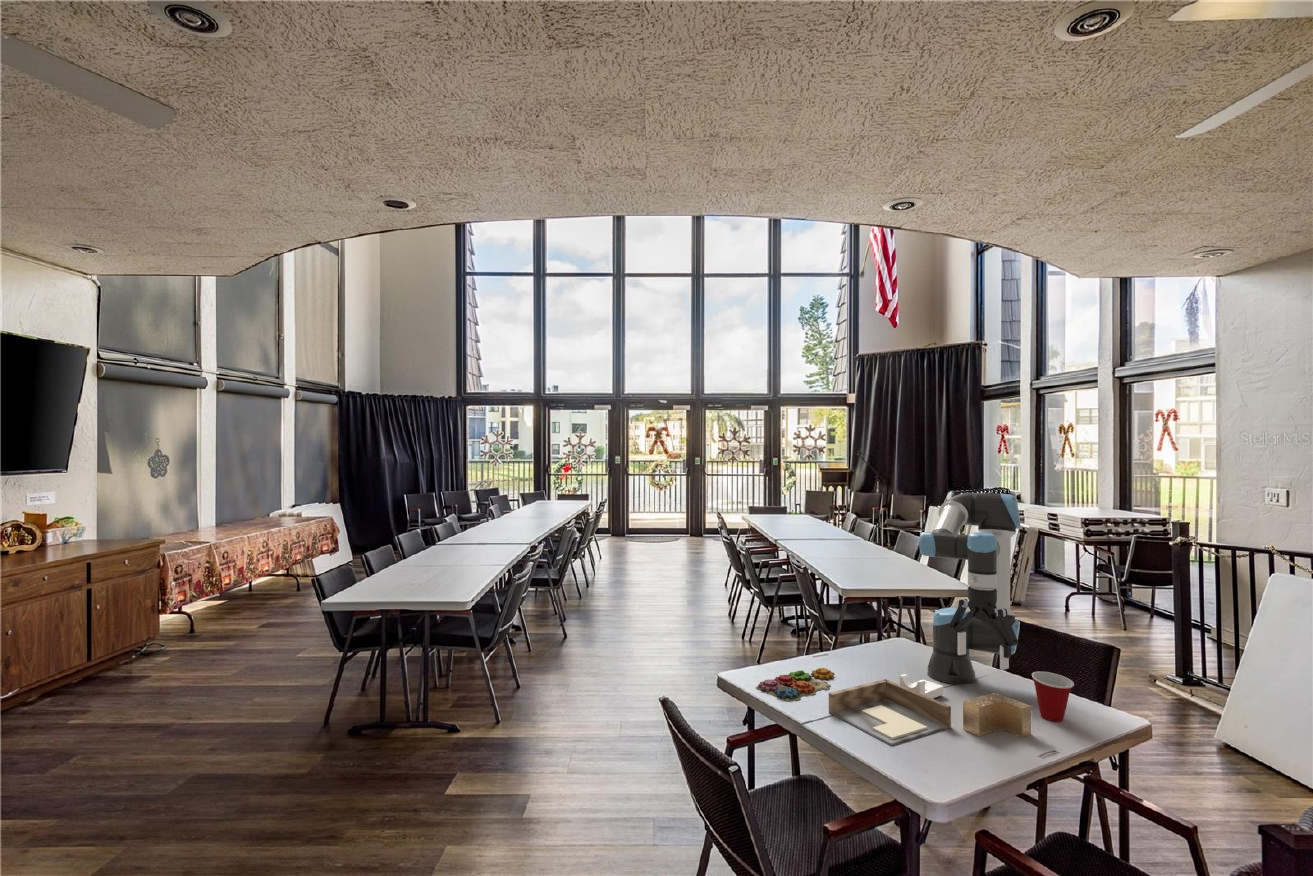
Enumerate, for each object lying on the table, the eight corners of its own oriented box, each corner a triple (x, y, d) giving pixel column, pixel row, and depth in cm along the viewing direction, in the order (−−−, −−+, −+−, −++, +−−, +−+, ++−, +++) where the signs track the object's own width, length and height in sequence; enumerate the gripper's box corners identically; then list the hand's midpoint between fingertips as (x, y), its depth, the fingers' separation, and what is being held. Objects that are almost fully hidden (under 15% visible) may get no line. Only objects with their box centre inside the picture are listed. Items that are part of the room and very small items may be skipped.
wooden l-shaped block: (994, 719, 191) (994, 692, 191) (1031, 734, 181) (1030, 705, 181) (963, 729, 184) (963, 701, 184) (999, 745, 175) (999, 715, 175)
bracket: (920, 706, 201) (920, 682, 201) (899, 699, 206) (899, 675, 206) (943, 697, 208) (943, 673, 208) (923, 690, 214) (923, 667, 214)
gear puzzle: (814, 669, 234) (814, 658, 234) (851, 683, 221) (851, 671, 221) (753, 689, 215) (753, 677, 215) (790, 705, 202) (790, 692, 202)
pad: (880, 707, 198) (880, 705, 198) (927, 729, 183) (927, 727, 183) (846, 716, 192) (846, 714, 192) (892, 739, 177) (892, 737, 177)
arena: (885, 698, 207) (885, 679, 207) (950, 727, 186) (950, 706, 186) (828, 712, 196) (828, 692, 196) (891, 745, 174) (891, 723, 174)
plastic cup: (1063, 729, 184) (1063, 687, 184) (1024, 716, 193) (1024, 676, 193) (1081, 720, 190) (1081, 679, 190) (1042, 707, 199) (1042, 668, 199)
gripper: (936, 580, 195) (936, 650, 195) (1014, 598, 173) (1015, 677, 173) (953, 577, 199) (954, 647, 198) (1032, 595, 176) (1032, 673, 176)
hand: (982, 661), depth 186 cm, fingers open, 13 cm apart
